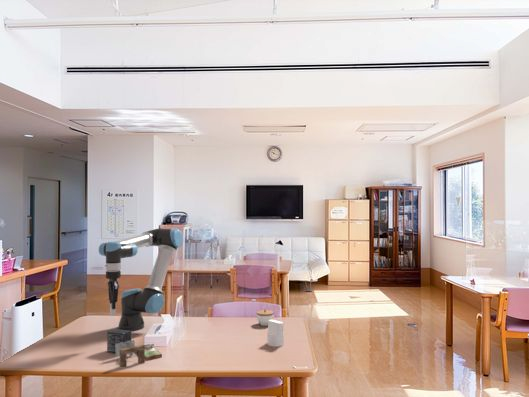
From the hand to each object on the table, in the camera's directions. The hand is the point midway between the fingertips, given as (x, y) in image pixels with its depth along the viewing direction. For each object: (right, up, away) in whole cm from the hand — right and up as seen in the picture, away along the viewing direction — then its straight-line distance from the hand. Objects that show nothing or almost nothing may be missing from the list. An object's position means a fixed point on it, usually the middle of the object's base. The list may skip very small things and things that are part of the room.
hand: (112, 314), depth 225 cm
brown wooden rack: (+19, -15, -19) cm, 30 cm away
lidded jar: (+82, -17, +38) cm, 92 cm away
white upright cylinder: (+87, -17, +2) cm, 89 cm away
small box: (+7, -16, -10) cm, 20 cm away
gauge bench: (+18, -16, -17) cm, 29 cm away
